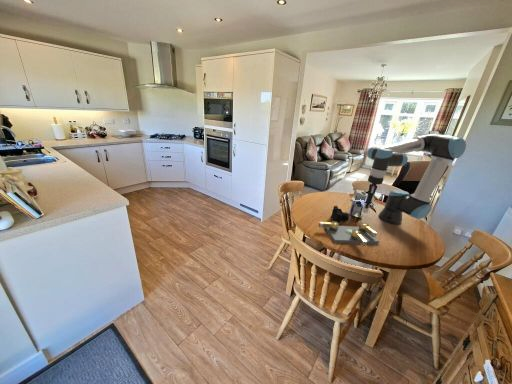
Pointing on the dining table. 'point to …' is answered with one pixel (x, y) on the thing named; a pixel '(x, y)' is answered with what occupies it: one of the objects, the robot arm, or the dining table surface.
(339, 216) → the camera
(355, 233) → the knob left
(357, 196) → the milk carton
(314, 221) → the dining table surface
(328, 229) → the level plate
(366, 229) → the knob
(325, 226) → the knob
